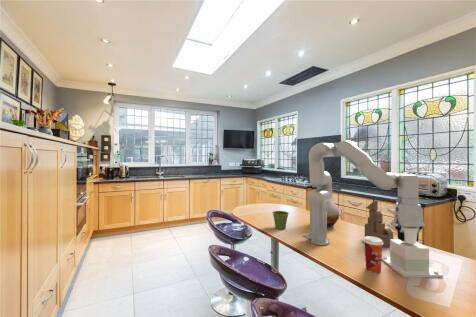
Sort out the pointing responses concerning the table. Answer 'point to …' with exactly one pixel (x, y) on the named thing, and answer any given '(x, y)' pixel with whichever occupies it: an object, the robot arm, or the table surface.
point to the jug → (331, 213)
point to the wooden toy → (377, 225)
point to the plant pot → (280, 219)
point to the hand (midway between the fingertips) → (407, 239)
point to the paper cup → (373, 253)
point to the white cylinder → (410, 234)
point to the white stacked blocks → (410, 259)
